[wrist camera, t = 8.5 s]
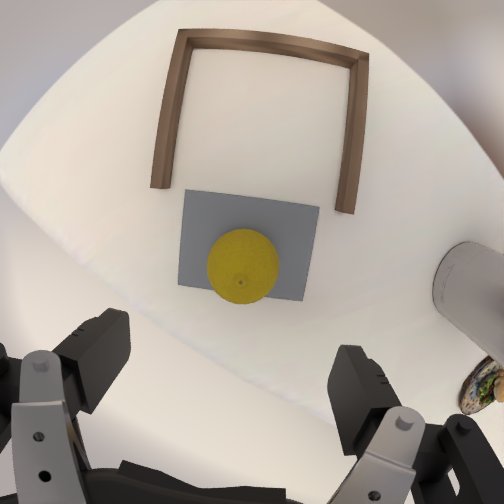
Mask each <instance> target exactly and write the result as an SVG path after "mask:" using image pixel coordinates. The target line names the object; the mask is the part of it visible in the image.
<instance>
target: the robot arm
mask: <svg viewBox="0 0 504 504" xmlns="http://www.w3.org/2000/svg"><path fill="white" fill-rule="evenodd" d="M433 297H434V303H435V305H436V308H437V310H438V311H439V312H440V313H441V314H442V315H443V316H444V317H446V318H447V319H448V320H449V321H450V322H451V323H453V324H454V325H455V326H456V327H457V328H458V329H459V330H461V331H462V332H463V333H464V334H465V335H466V336H468V337H469V338H470V339H471V340H472V341H473V342H475V343H476V344H477V345H478V346H479V347H480V348H481V349H482V350H484V351H485V352H486V353H487V354H488V355H489V356H490V357H491V358H492V359H493V360H495V361H496V362H497V363H498V364H499V365H500V366H501V367H502V368H503V369H504V254H502V253H499V252H497V251H494V250H492V249H489V248H486V247H484V246H481V245H478V244H476V243H472V242H464V243H461V244H459V245H457V246H456V247H454V248H453V249H452V250H451V251H450V252H449V253H448V254H447V255H446V256H445V258H444V259H443V261H442V262H441V264H440V266H439V268H438V271H437V274H436V277H435V281H434V286H433ZM130 351H131V342H130V326H129V315H128V313H127V312H125V311H121V310H116V309H112V308H108V309H107V310H106V311H104V312H103V313H102V314H101V315H100V316H99V317H94V318H92V319H89V320H87V321H85V322H83V323H82V324H81V325H80V326H79V327H78V328H77V329H76V330H74V331H73V332H72V334H71V335H69V336H68V337H67V338H66V339H65V340H63V341H62V342H61V343H60V344H59V345H58V346H57V347H56V348H55V349H53V351H51V352H50V351H46V350H38V351H34V352H31V353H29V354H28V355H26V356H25V357H24V358H23V360H22V359H16V358H11V357H8V356H7V353H6V350H5V347H4V345H3V344H2V343H0V453H1V452H2V450H3V449H4V447H5V446H6V444H7V443H8V441H9V440H10V439H11V437H12V454H13V465H14V475H15V482H16V489H17V493H14V494H10V495H6V496H2V497H0V504H303V503H300V502H297V501H294V500H291V499H286V489H285V488H265V487H251V486H240V487H226V488H198V487H195V486H192V485H190V484H188V483H185V482H183V481H181V480H178V479H176V478H174V477H172V476H170V475H168V474H165V473H163V472H161V471H158V470H155V469H151V468H147V467H144V466H141V465H137V464H134V463H131V462H128V461H125V460H122V462H121V464H120V467H119V469H115V468H97V469H92V468H91V466H90V463H89V461H88V458H87V455H86V451H85V447H84V443H83V440H82V436H81V432H80V428H79V423H78V419H77V417H76V415H77V413H78V412H79V411H80V410H81V411H83V412H86V413H88V414H92V413H93V411H94V410H95V408H96V407H97V405H98V404H99V402H100V400H101V399H102V398H103V396H104V395H105V393H106V392H107V390H108V389H109V387H110V386H111V384H112V383H113V381H114V380H115V378H116V377H117V376H118V374H119V373H120V371H121V370H122V368H123V367H124V365H125V364H126V362H127V361H128V359H129V356H130ZM327 390H328V395H329V399H330V402H331V406H332V410H333V414H334V417H335V421H336V425H337V429H338V433H339V436H340V441H341V445H342V449H343V453H344V455H345V456H348V455H356V456H357V461H356V463H355V464H354V466H353V467H352V469H351V470H350V472H349V473H348V475H347V476H346V478H345V479H344V481H343V482H342V483H341V485H340V486H339V488H338V489H337V490H336V492H335V493H334V495H333V496H332V497H331V499H330V500H329V501H328V503H327V504H404V502H405V500H406V497H407V495H408V492H409V490H410V489H411V492H412V495H413V499H414V502H415V504H504V468H503V467H502V465H501V463H500V461H499V459H498V458H497V456H496V454H495V453H494V451H493V449H492V447H491V446H490V444H489V442H488V441H487V439H486V437H485V436H484V434H483V433H482V431H481V429H480V428H479V426H478V425H477V423H476V422H475V421H474V420H473V419H472V418H470V417H468V416H466V415H463V414H454V415H451V416H450V417H449V418H448V419H447V421H446V422H445V424H444V425H435V424H427V423H425V421H424V419H423V417H422V416H421V415H420V414H419V413H418V412H417V411H415V410H414V409H411V408H408V407H404V406H402V405H401V403H400V401H399V399H398V397H397V395H396V393H395V392H394V390H393V388H392V386H391V384H389V381H388V379H387V377H385V374H384V372H383V370H382V368H381V367H380V366H379V365H378V364H377V363H376V362H375V361H373V360H372V359H368V358H367V356H366V354H365V353H364V351H363V349H362V347H361V346H356V345H341V346H340V347H339V349H338V352H337V355H336V358H335V361H334V364H333V367H332V369H331V372H330V375H329V379H328V385H327ZM452 468H453V470H454V472H455V475H456V477H457V479H458V481H459V485H460V489H459V493H458V495H457V496H456V494H455V491H454V489H453V487H452V484H451V481H450V479H449V477H448V472H449V471H450V470H451V469H452Z"/></svg>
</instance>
